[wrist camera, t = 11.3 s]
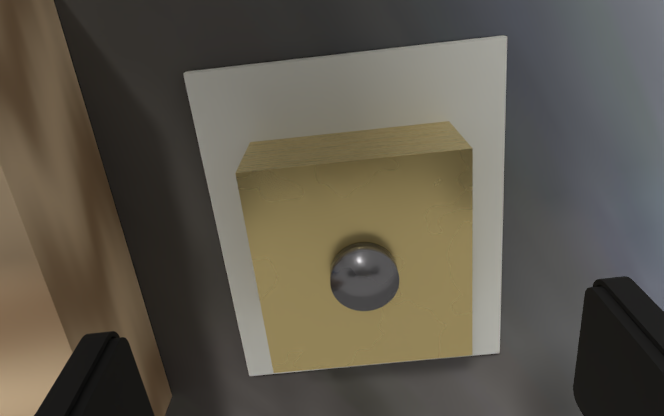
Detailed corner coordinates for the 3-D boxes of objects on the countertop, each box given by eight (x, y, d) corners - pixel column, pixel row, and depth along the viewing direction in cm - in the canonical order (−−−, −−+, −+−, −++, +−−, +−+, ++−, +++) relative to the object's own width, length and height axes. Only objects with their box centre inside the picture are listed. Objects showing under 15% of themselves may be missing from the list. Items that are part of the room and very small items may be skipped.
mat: (186, 71, 17) (183, 73, 16) (503, 35, 16) (507, 36, 16) (250, 369, 21) (249, 376, 21) (496, 346, 21) (499, 353, 21)
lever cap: (250, 142, 17) (231, 180, 14) (448, 121, 17) (478, 155, 14) (281, 318, 20) (271, 386, 17) (452, 302, 20) (477, 367, 16)
